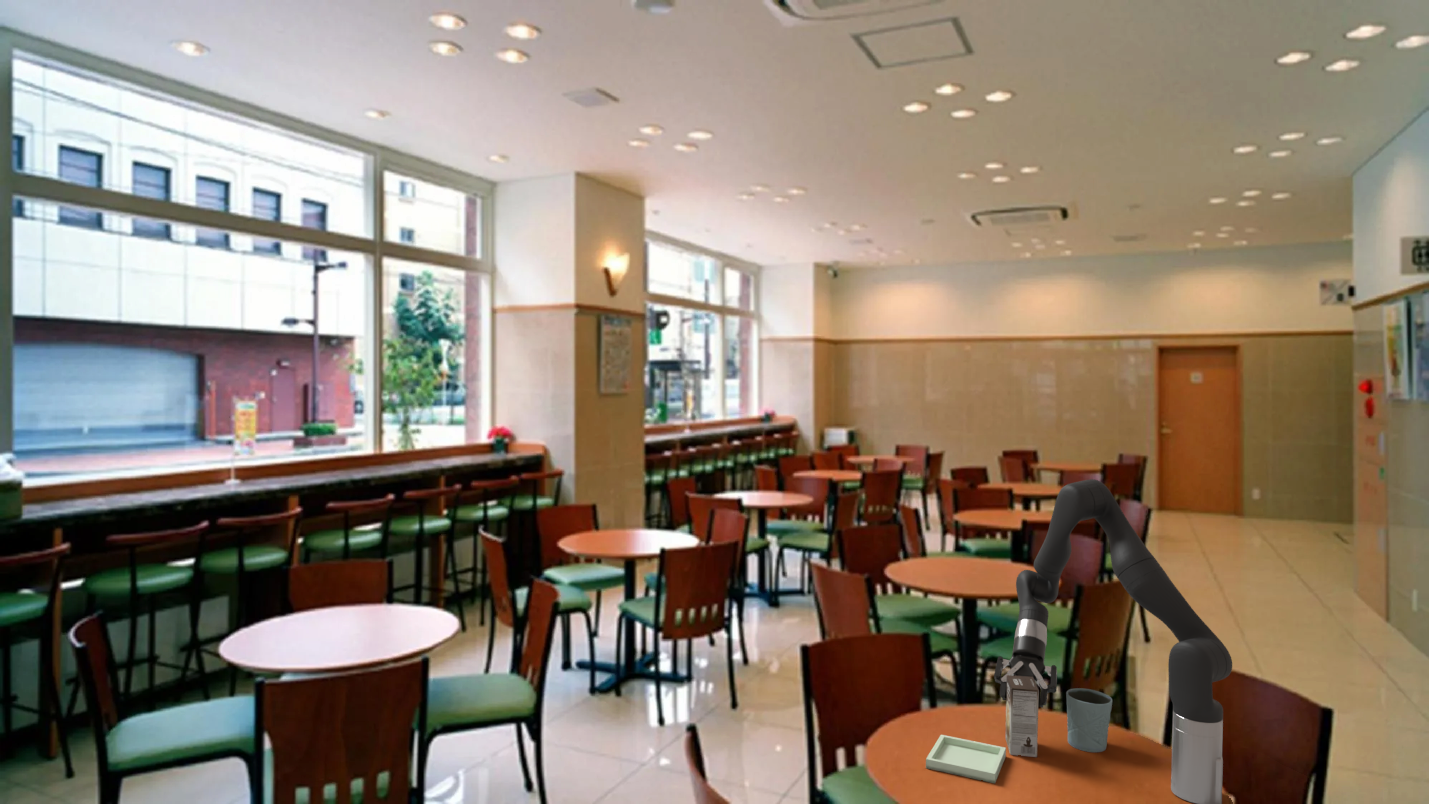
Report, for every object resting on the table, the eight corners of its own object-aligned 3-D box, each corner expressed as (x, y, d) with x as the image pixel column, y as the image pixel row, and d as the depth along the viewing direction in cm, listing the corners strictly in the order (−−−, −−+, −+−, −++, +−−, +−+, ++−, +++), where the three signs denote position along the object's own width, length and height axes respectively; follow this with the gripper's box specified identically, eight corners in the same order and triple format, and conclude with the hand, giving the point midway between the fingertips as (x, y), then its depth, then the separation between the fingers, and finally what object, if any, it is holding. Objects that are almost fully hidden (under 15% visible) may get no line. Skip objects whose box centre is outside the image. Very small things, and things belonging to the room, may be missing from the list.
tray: (1005, 756, 197) (1005, 747, 197) (994, 783, 183) (995, 773, 183) (940, 742, 204) (940, 734, 204) (925, 767, 190) (925, 758, 190)
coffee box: (1004, 738, 206) (1005, 673, 206) (1031, 741, 205) (1033, 676, 205) (1009, 755, 197) (1011, 687, 197) (1038, 757, 196) (1040, 689, 196)
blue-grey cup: (1059, 734, 209) (1060, 686, 209) (1102, 736, 208) (1103, 688, 208) (1073, 752, 199) (1074, 702, 199) (1117, 755, 198) (1119, 704, 198)
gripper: (999, 629, 213) (989, 689, 203) (1059, 638, 206) (1053, 700, 197) (1002, 645, 218) (993, 703, 208) (1061, 654, 211) (1055, 715, 202)
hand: (1022, 702), depth 202 cm, fingers open, 8 cm apart
